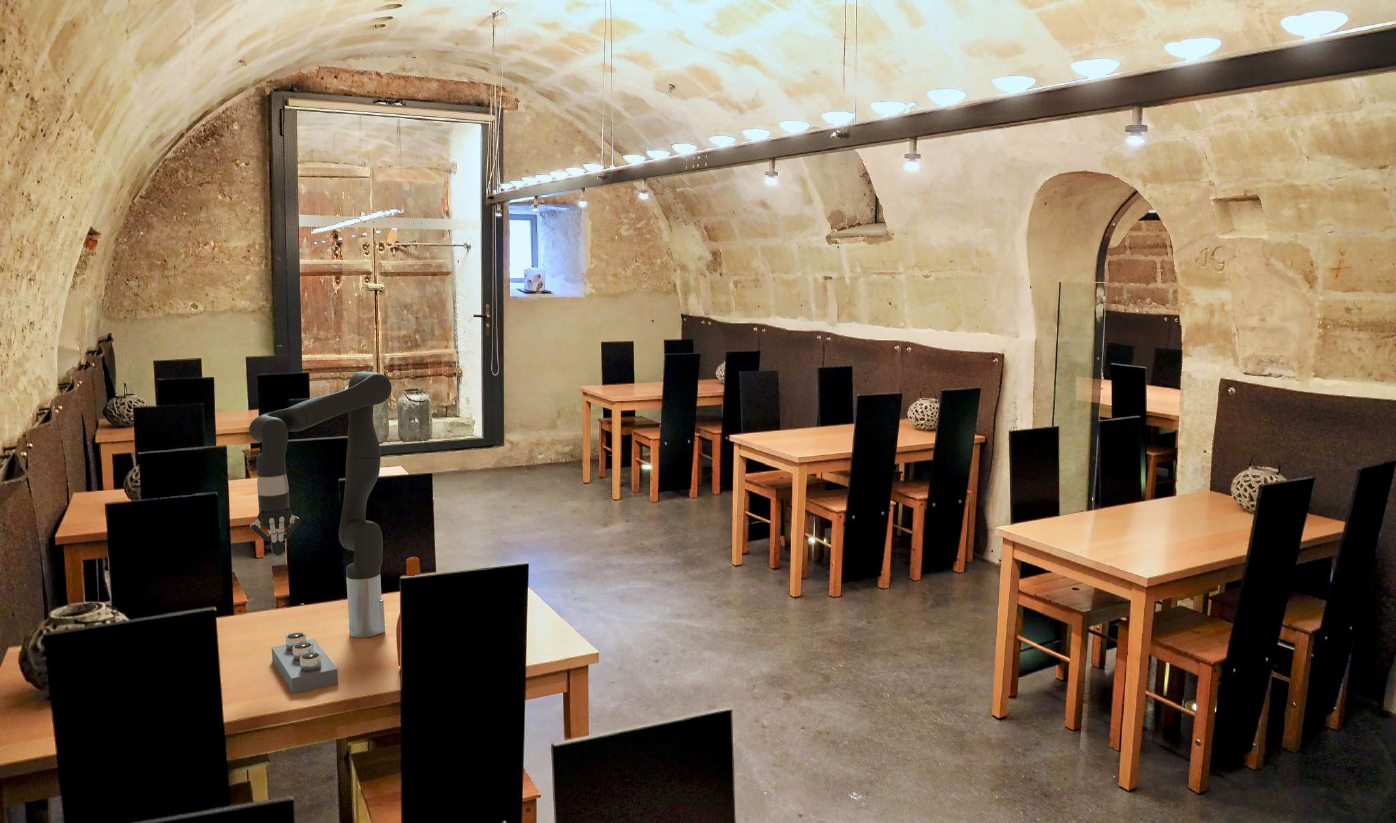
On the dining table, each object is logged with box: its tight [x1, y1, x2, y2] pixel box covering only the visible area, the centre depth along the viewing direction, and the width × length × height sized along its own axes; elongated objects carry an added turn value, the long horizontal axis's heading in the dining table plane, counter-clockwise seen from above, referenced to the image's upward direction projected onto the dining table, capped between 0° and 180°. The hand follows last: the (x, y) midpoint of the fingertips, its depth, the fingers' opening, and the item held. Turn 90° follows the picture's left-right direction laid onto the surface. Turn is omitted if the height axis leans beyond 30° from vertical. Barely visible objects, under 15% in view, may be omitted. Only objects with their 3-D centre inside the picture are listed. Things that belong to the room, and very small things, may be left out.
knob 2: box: [293, 642, 313, 661], centre depth 267 cm, size 5×5×3 cm
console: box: [271, 638, 339, 695], centre depth 267 cm, size 11×25×4 cm, turn 33°
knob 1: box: [285, 632, 307, 650], centre depth 274 cm, size 5×5×3 cm
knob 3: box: [300, 652, 322, 671], centre depth 260 cm, size 5×5×3 cm
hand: (277, 554), depth 274 cm, fingers closed
